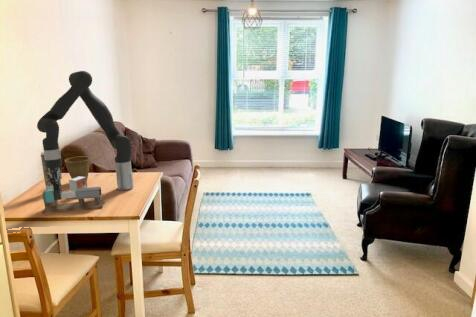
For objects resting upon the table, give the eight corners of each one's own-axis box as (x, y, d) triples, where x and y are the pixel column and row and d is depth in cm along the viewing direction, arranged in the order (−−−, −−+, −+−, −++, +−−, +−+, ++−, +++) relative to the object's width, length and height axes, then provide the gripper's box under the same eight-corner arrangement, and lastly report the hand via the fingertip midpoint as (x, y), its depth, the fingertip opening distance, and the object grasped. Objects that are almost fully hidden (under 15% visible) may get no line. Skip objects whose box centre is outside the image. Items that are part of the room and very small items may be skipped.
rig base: (105, 201, 196) (104, 192, 194) (101, 208, 186) (100, 198, 185) (49, 206, 191) (47, 196, 189) (42, 213, 181) (41, 202, 180)
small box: (78, 198, 202) (76, 180, 200) (70, 197, 204) (68, 179, 202) (88, 193, 210) (86, 176, 207) (81, 192, 212) (79, 176, 209)
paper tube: (54, 195, 208) (48, 154, 202) (44, 194, 209) (37, 153, 203) (61, 191, 214) (56, 151, 208) (52, 191, 216) (46, 151, 210)
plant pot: (64, 182, 232) (61, 159, 229) (87, 177, 242) (84, 155, 238) (72, 187, 222) (69, 163, 218) (96, 182, 231) (93, 158, 228)
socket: (57, 198, 188) (56, 188, 187) (54, 202, 183) (52, 192, 182) (47, 199, 188) (46, 189, 186) (44, 202, 182) (42, 192, 181)
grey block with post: (88, 195, 190) (86, 177, 188) (87, 197, 186) (84, 179, 184) (51, 198, 187) (48, 180, 185) (48, 200, 183) (45, 182, 181)
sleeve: (101, 194, 192) (100, 186, 191) (99, 197, 187) (98, 189, 186) (78, 196, 190) (77, 188, 189) (75, 199, 185) (74, 191, 184)
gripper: (56, 160, 174) (61, 193, 179) (64, 154, 188) (69, 185, 192) (40, 161, 173) (45, 194, 177) (49, 155, 187) (54, 186, 191)
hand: (57, 189), depth 185 cm, fingers closed on grey block with post, 3 cm apart
